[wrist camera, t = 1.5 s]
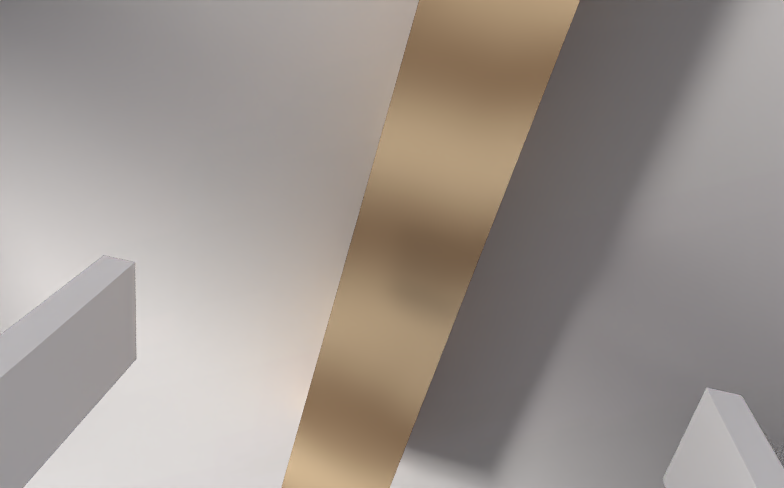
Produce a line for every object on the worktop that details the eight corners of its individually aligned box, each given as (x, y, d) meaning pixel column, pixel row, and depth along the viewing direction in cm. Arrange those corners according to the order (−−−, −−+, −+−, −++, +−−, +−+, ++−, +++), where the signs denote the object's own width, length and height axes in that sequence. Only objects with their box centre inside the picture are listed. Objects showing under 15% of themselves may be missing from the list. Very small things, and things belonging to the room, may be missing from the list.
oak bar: (390, 437, 30) (375, 524, 25) (309, 412, 30) (279, 494, 25) (604, -134, 19) (642, -160, 15) (478, -173, 19) (479, -212, 15)
